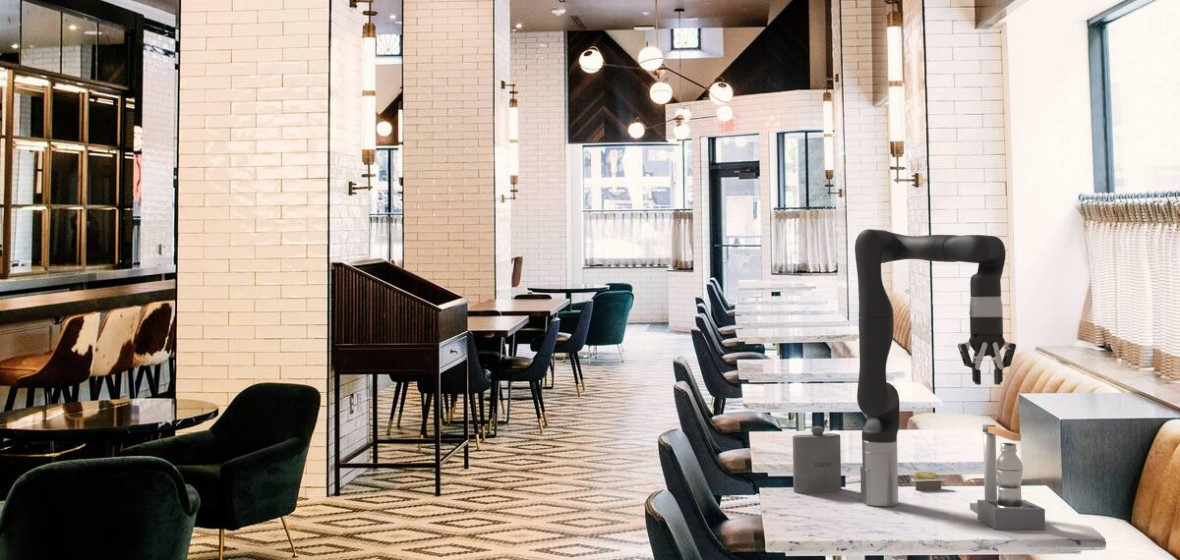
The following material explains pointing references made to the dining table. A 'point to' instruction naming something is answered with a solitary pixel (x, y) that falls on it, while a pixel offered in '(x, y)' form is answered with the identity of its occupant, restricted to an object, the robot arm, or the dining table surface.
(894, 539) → the dining table surface
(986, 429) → the slender peach stick
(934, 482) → the platform
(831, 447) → the flask
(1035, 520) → the plug dock
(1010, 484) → the plastic bottle
